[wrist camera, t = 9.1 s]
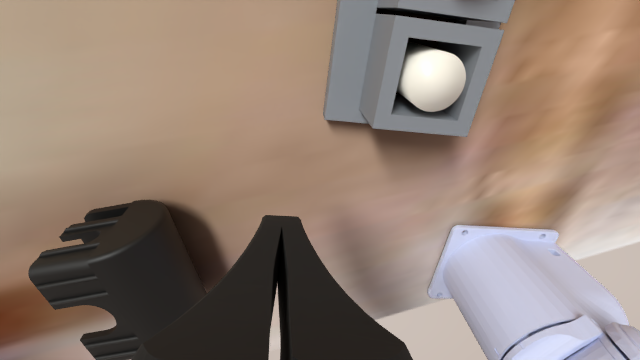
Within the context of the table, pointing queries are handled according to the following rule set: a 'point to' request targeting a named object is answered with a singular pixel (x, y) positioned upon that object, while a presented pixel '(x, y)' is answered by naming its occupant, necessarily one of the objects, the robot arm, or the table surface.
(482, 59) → the socket strip
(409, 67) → the ivory plug
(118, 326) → the end cap
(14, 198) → the table surface
